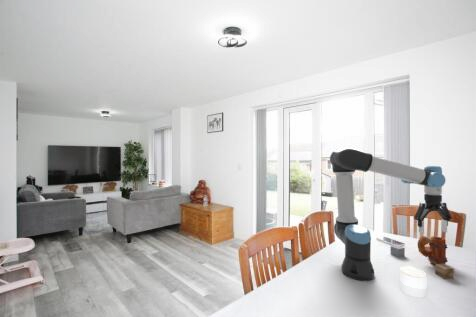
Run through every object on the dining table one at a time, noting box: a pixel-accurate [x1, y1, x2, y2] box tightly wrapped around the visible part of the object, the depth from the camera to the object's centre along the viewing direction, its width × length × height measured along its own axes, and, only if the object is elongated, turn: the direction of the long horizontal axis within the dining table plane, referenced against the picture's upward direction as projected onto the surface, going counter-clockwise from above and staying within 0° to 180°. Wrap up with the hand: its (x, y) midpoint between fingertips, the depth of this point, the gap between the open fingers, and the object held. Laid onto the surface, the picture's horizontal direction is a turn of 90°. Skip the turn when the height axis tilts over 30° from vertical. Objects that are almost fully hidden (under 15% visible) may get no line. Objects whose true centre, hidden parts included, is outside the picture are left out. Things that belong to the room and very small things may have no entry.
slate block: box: [390, 244, 406, 258], centre depth 143 cm, size 5×5×5 cm
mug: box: [417, 235, 448, 265], centre depth 131 cm, size 15×8×15 cm, turn 84°
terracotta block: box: [418, 243, 430, 253], centre depth 145 cm, size 5×5×5 cm
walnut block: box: [434, 264, 455, 280], centre depth 118 cm, size 5×5×5 cm
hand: (432, 232), depth 131 cm, fingers open, 13 cm apart
